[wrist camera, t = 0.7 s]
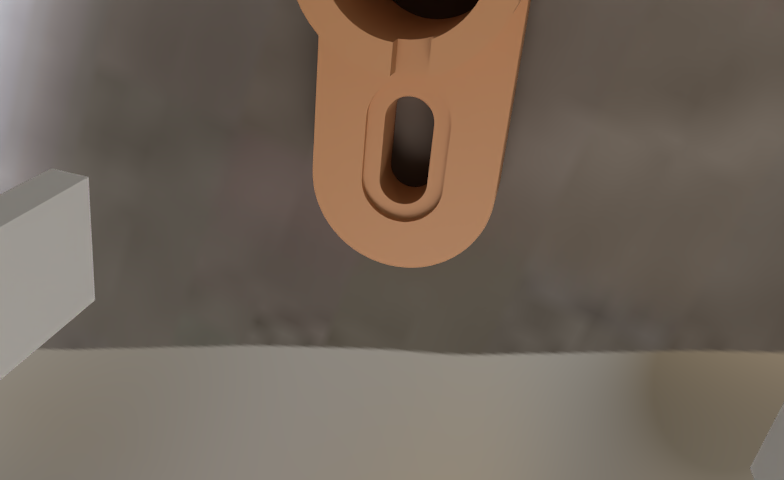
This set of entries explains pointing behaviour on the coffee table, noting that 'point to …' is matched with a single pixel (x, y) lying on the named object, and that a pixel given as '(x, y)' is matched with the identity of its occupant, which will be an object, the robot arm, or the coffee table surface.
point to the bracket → (378, 111)
